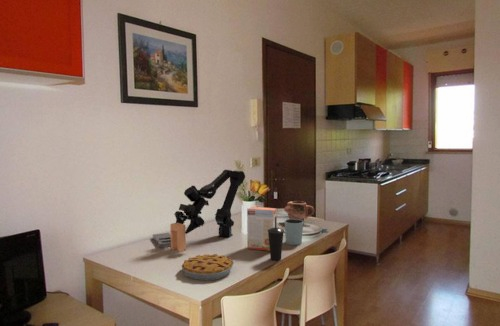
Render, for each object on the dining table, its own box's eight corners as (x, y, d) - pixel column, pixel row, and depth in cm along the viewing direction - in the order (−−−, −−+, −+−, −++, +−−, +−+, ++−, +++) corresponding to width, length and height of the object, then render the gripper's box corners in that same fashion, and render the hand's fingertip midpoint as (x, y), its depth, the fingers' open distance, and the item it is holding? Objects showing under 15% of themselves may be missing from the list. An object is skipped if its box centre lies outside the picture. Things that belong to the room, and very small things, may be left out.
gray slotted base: (152, 238, 206) (152, 234, 206) (168, 236, 210) (168, 232, 210) (159, 248, 188) (159, 244, 188) (177, 245, 192) (176, 241, 192)
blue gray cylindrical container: (292, 239, 203) (292, 217, 202) (307, 242, 196) (307, 220, 195) (280, 242, 196) (280, 220, 195) (295, 246, 189) (295, 224, 188)
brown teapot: (315, 221, 242) (315, 201, 241) (313, 226, 231) (313, 204, 230) (286, 219, 248) (286, 199, 247) (282, 224, 237) (282, 202, 236)
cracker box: (277, 248, 187) (277, 207, 185) (273, 251, 181) (273, 210, 179) (251, 245, 192) (251, 206, 190) (247, 248, 186) (246, 208, 185)
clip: (170, 249, 186) (170, 223, 185) (177, 247, 189) (176, 222, 188) (179, 252, 182) (178, 226, 181) (185, 250, 185) (185, 224, 184)
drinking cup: (266, 256, 174) (266, 215, 172) (282, 256, 175) (282, 214, 173) (268, 262, 166) (268, 218, 165) (285, 261, 167) (285, 218, 165)
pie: (240, 265, 163) (240, 254, 163) (222, 284, 142) (222, 272, 142) (196, 260, 170) (195, 250, 169) (172, 278, 149) (171, 266, 148)
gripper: (176, 195, 195) (159, 219, 187) (199, 199, 182) (182, 225, 175) (188, 208, 201) (172, 232, 194) (211, 213, 189) (195, 238, 181)
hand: (180, 231), depth 186 cm, fingers open, 9 cm apart
